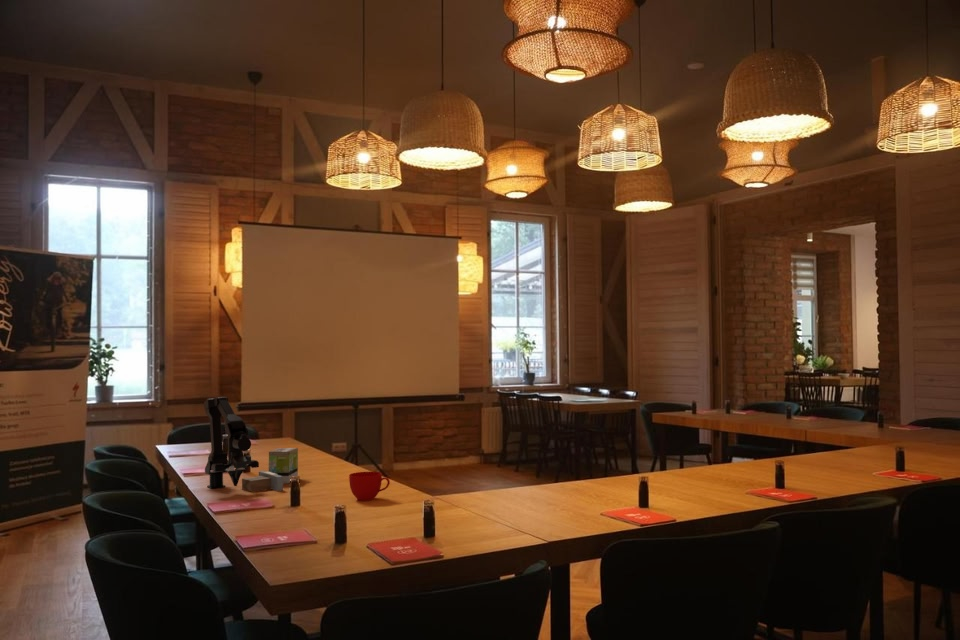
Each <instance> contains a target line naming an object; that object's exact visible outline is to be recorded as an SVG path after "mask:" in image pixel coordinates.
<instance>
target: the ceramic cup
mask: <svg viewBox="0 0 960 640" xmlns="http://www.w3.org/2000/svg"><path fill="white" fill-rule="evenodd" d="M348 479H349V480H348V481H349V487H350V491H351V494H353V496H354V497H355V499H357V501H361V502H367V501H373V500H374V499H375V498H376V497H377V496H378V494H379V493H380V492H382V491H385V490H386V489H388V487H389V486H390V485H391V484H390V483H391V482H390V479H389V478H388V477H387V476H386V477H383V474H382V472H380V471H358V472H352V473H350V474H349V476H348ZM383 480H386V483H387V484H386V486H384V487H383V488H381V487H382V481H383Z"/></svg>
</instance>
